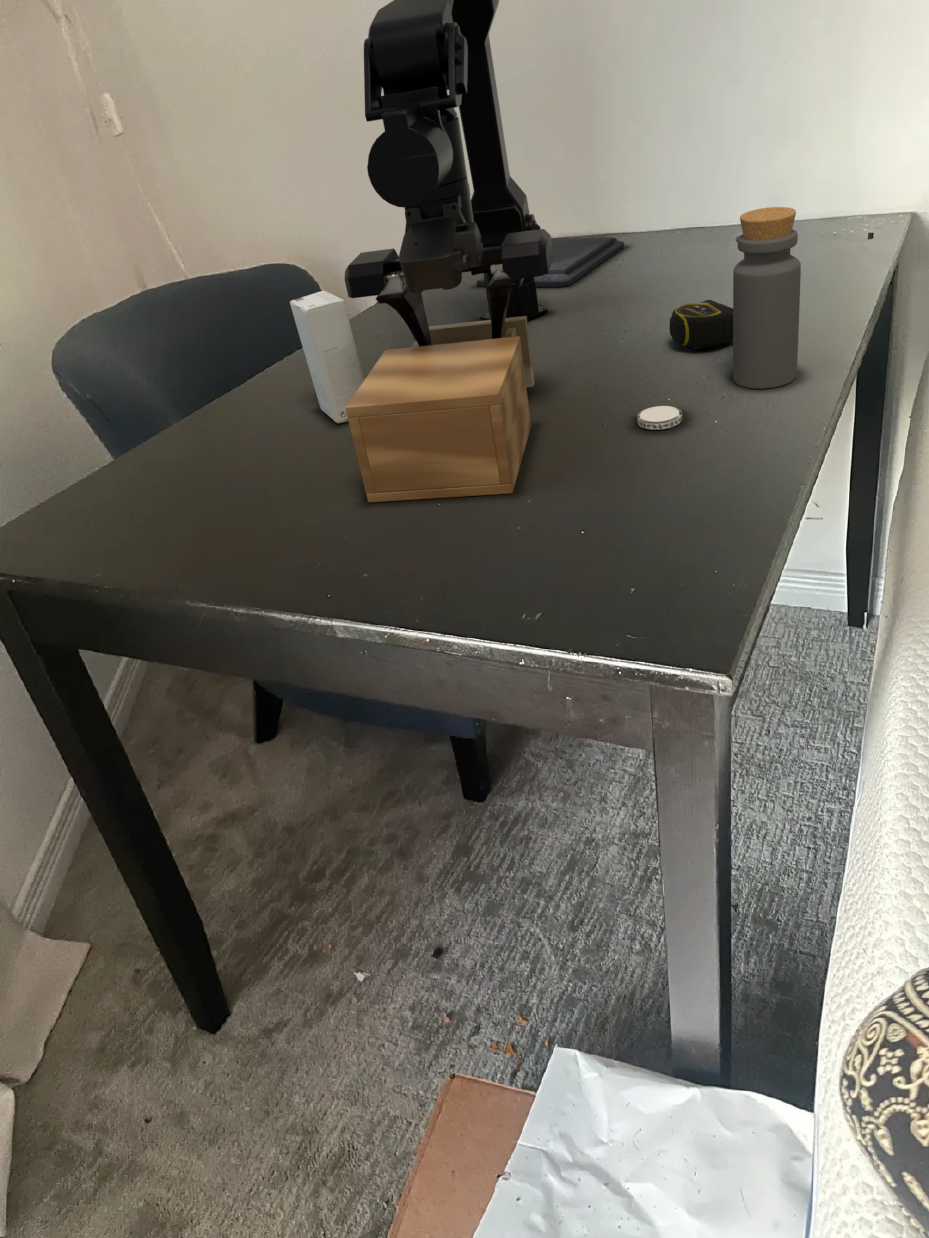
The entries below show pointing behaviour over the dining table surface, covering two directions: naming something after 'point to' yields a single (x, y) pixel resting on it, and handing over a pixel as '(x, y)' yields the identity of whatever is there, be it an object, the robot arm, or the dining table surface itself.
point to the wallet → (574, 259)
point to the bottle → (766, 300)
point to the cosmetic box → (328, 351)
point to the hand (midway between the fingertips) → (463, 355)
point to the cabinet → (442, 421)
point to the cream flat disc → (659, 417)
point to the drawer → (486, 337)
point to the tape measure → (702, 324)
